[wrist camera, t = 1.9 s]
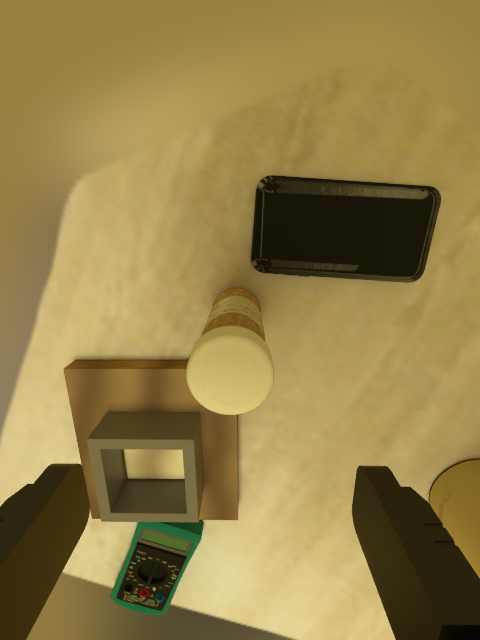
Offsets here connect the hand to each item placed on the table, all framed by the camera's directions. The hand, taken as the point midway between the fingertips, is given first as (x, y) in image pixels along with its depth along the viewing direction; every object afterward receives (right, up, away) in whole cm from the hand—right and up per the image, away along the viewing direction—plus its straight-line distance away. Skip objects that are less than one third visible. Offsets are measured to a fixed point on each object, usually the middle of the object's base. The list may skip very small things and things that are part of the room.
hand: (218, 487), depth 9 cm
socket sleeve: (-8, -8, +21) cm, 24 cm away
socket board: (-8, -8, +23) cm, 26 cm away
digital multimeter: (-9, -24, +29) cm, 38 cm away
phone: (+9, +13, +18) cm, 24 cm away
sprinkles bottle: (0, +6, +19) cm, 20 cm away
